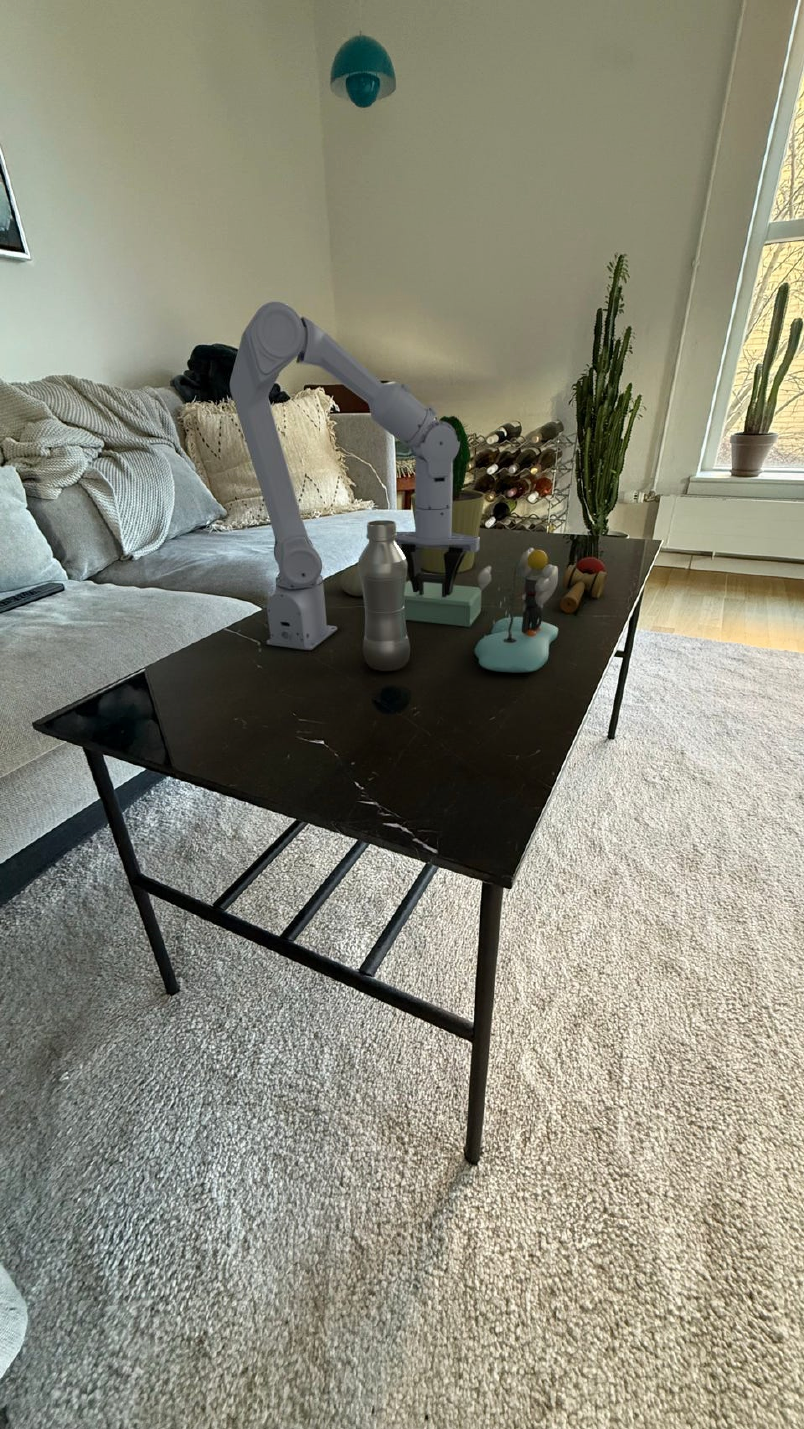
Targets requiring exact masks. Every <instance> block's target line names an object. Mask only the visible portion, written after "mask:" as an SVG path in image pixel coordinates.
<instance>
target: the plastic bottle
mask: <svg viewBox="0 0 804 1429" xmlns="http://www.w3.org/2000/svg"><path fill="white" fill-rule="evenodd" d="M396 532H397V522H396V521H394V520H386V519H377V520H371V521H368V522H367V523H366V536H365V537H366V539H367V540H368V543H367V544H366V545H365V547H364V548H363V550H362V552H361V554H360V556H359V557H358V561H357V565H358V573H359V577H360V582H361V587H362V592H363V596H362V597H363V599H362V600H363V604H364V636H363V642H362V654H363V658H364V661H365V663H366V664H367V666H368V667H369V668H371V669H372V670H375V671H380V672H392V671H397V670H400V669H403V668H404V667H405V666H406V665H407V663H408V662H409V660H410V655H411V647H410V645H411V644H410V640H409V636H408V632H407V624H406V622H407V621H406V620H405V613H404V609H405V606H404V603H405V586H406V583H407V576H408V571H407V566H408V564H407V561H406V558H405V556H404V554H403V552H402V551H401V547H400V546H398V545H397V544H396V543H395V538H397V533H396Z"/></svg>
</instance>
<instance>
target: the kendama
mask: <svg viewBox="0 0 804 1429" xmlns="http://www.w3.org/2000/svg"><path fill="white" fill-rule="evenodd" d="M607 576H608V575H607V572H606V567H605V565H604V563H603V562H602V561H601V560H600V559H598V558H596V557H593V556H588V557H587V556H586V557H584V558H582V559H580V560H578V561H577V562H576V564H575V565H573V564H570V565H568V567H567V568H566V570H565V573H564V576H563V581H562V585H561V586H562V588H563V589H565V590H569V591H568V592H567V593H566V594H565V595H564V596H563V597H562V599H561V600H560V602H559V608H560V609H561V611H562V612H564V613H567V614H572V613H574V612H575V611H576V610H577V609H578V607H579V603H580V601H581V599H582V596H583V594H584V591H585V590H586V591H587V592H588V593H589V594H590V597H592V598H595V599H599V598H600V596H601V594H602V591H603V589H604V586H605V583H606V580H607Z"/></svg>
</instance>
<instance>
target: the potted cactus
mask: <svg viewBox="0 0 804 1429" xmlns="http://www.w3.org/2000/svg"><path fill="white" fill-rule="evenodd" d="M436 420H438V421H444V422H446V423H448V424H450V425H451V426H452V427H453V428H454V430H455V432H456V433H455V434H456V435H457V439H458V442H460V447H459V451H458V453H457V455H456V457H455V458H454V459H453V469H452V474H453V486H452V532H451V533H454V534H460V535H466V536H473V537H479V532H480V527H481V522H482V521H481V520H482V515H483V510H484V506H485V505H484V504H485V497H486V494H485V493H484V492H483V491H478V490H473V489H472V490H471V489H468V488H467V487H465V486H464V485H467V482H466V477H468V476H469V475H468V473H467V470H468V464H469V463H472V460H473V457H471V453H472V452H473V451H474V450H476V449H470V446H471V445H473V444H472V443H470V442H469V435H470V433H467V432H466V429H465V428H467V427H468V425H467V424H466V423H467V422H466V423H463V422H462V419H460V418H458V417H457V416H456V415H450V416H447V415H442V414H441V415H440V416H436ZM468 429H469V428H467V430H468ZM410 498H411V508H412V514H413V515H412V516H413V520H414V521H413V523H415V492H413V493H412V494H410ZM447 551H449V549H439V548H425V547H423V550H422V559H421V569H423V570H425V571H427V572H431V573H436V574H445V562H444V554H445V553H446V552H447ZM475 553H476V552H470V551H468V550H467V552H466V554H465V556H464V558H463V560H462V562H461V565H460V567H459V569H458V572H457V573H461V572H465V571H468V570H471V569H472V568H473V565H474V560H475Z"/></svg>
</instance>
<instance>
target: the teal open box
mask: <svg viewBox="0 0 804 1429" xmlns="http://www.w3.org/2000/svg"><path fill="white" fill-rule="evenodd" d="M404 606H405V609H404V613H405V621H406V620H407V621H414V622H422V623H423V622H424V623H431V624H432V623H433V624H442V625H451V626H459V627H468V628H471V626H472V624H473V623H474V622H475V620H476V619H477V618H478V617H479V615H480V614H481V610H482V609H481V608H482V592H481V593H480V594H479V595H478V596H477V598H476V599H475V600H474V601H473V603H472V604H471V605H470V606H463V605H453V604H443V603H433V602H423V601H413V600H405V603H404Z"/></svg>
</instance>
